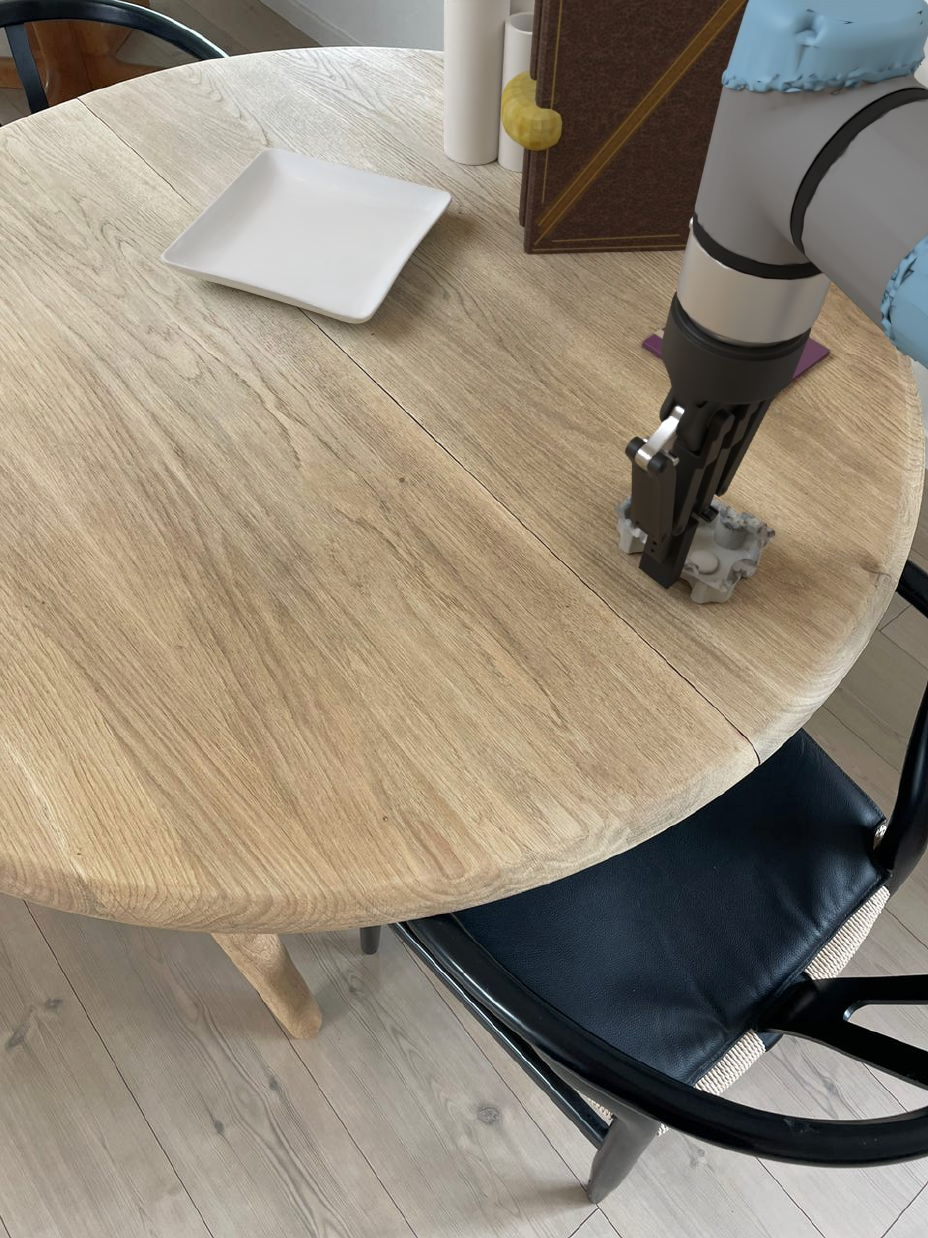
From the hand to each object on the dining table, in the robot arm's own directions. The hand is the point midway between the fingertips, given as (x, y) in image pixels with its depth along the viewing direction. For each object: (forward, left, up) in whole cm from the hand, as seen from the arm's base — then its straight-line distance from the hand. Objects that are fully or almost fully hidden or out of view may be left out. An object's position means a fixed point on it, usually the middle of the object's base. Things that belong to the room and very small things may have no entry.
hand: (658, 573), depth 71 cm
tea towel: (+13, -26, -2) cm, 29 cm away
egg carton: (+1, -4, -2) cm, 5 cm away
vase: (+51, -32, -2) cm, 60 cm away
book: (+33, -30, -2) cm, 44 cm away
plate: (+49, -6, -2) cm, 49 cm away
